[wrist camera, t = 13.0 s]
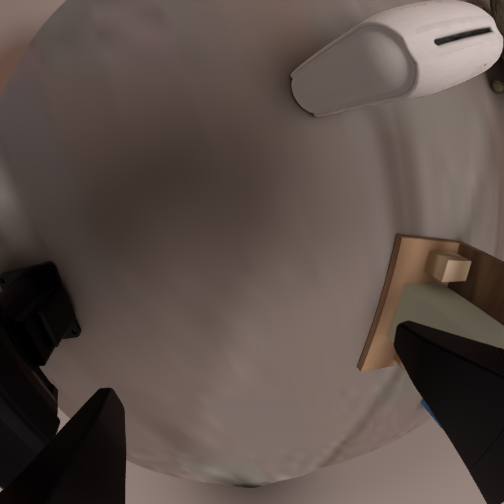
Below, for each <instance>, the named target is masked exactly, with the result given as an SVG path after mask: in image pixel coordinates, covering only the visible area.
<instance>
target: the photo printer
mask: <svg viewBox="0 0 504 504" xmlns="http://www.w3.org/2000/svg"><path fill="white" fill-rule="evenodd" d="M502 49H503V36H502V35H501V34H500V32H499V31H498V29H497V27H496V24H495V21H494V19H493V18H492V17H491V16H490V15H489V14H488V13H487V12H485V11H484V10H482V9H481V8H479V7H477V6H475V5H473V4H470V3H467V2H463V1H457V0H432V1H423V2H417V3H411V4H406V5H402V6H398V7H394V8H391V9H387V10H384V11H382V12H379V13H377V14H375V15H373V16H371V17H369V18H367V19H366V20H364V21H362V22H361V23H359V24H358V25H356V26H354V27H353V28H351V29H350V30H348V31H347V32H345V33H344V34H342V35H341V36H339V37H338V38H337V39H335V40H334V41H332V42H331V43H329V44H328V45H326V46H325V47H324V48H322V49H321V50H319V51H318V52H317V53H315V54H314V55H313V56H311V57H310V58H309V59H307V60H306V61H305V62H304V63H302V64H301V65H300V66H299V67H297V68H296V69H295V70H294V71H293V72H292V73H291V75H290V76H291V77H292V79H293V80H292V82H291V88H292V92H293V95H294V97H295V99H296V101H297V102H298V104H299V105H300V106H301V107H302V108H304V109H305V110H306V111H308V112H310V113H313V114H314V116H315V117H323V116H328V115H332V114H336V113H340V112H344V111H348V110H353V109H357V108H362V107H366V106H371V105H376V104H381V103H387V102H393V101H398V100H405V99H411V98H418V97H423V96H427V95H430V94H433V93H436V92H439V91H442V90H445V89H447V88H450V87H452V86H455V85H457V84H460V83H462V82H464V81H466V80H469V79H471V78H473V77H475V76H477V75H479V74H481V73H483V72H484V71H486V70H487V69H489V68H490V67H492V65H493V64H494V63H495V62H496V61H497V60H498V59H499V57H500V55H501V53H502Z"/></svg>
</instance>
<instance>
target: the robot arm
mask: <svg viewBox="0 0 504 504" xmlns="http://www.w3.org/2000/svg"><path fill="white" fill-rule="evenodd" d="M48 267H50V268H51V271H50V270H49V269H48ZM3 279H4V280H5V281H4V280H3ZM0 285H1V288H2V290H3V291H2V292H1V293H0V487H1V488H2V489H3V490H2V491H1V492H0V504H125V477H126V476H125V475H126V435H125V410H124V407H123V404H122V403H121V401H120V399H119V398H118V396H117V395H116V393H115V391H114V390H113V389H112V388H100V389H98V390H97V391H96V392H95V394H94V395H93V396H92V397H91V398H90V399H89V400H88V401H87V402H86V403H85V404H84V405H83V406H82V407H81V408H80V410H79V411H78V412H77V413H76V414H75V415H74V416H73V417H72V418H71V419H70V420H69V421H68V422H67V423H66V425H65V426H64V427H63V428H62V429H61V430H60V431H59V432H58V433H57V431H58V428H59V425H60V419H59V418H58V417H57V413H58V404H57V401H58V390H57V388H56V387H55V386H54V385H53V384H51V383H50V381H49V380H48V379H47V377H46V376H45V375H44V373H43V372H42V371H41V369H40V368H39V367H40V366H44V365H45V364H46V363H47V361H48V359H49V357H50V355H51V354H52V352H53V350H54V348H55V347H58V345H59V343H60V342H61V340H62V339H66V338H75V337H78V336H79V335H80V333H81V329H80V327H79V325H78V322H77V320H76V318H75V314H74V311H73V309H72V306H71V304H70V302H69V299H68V297H67V294H66V291H65V289H64V288H63V286H62V283H61V281H60V278H59V275H58V272H57V269H56V267H55V265H54V264H53V263H52V262H46V263H42V264H38V265H34V266H30V267H26V268H22V269H18V270H14V271H11V272H7V273H3V274H2V275H0ZM74 330H75V331H76V332H75V331H74ZM394 349H395V351H396V353H397V355H398V357H399V358H400V360H401V362H402V364H403V366H404V368H405V369H406V371H407V373H408V375H409V377H410V379H411V381H412V382H413V384H414V386H415V387H416V389H417V390H418V392H419V393H420V395H421V396H422V398H423V399H424V401H425V402H426V404H427V405H428V407H429V408H430V410H431V411H432V413H433V414H434V416H435V417H436V419H437V420H438V422H439V423H440V425H441V426H442V428H443V430H444V431H445V433H446V434H447V436H448V437H449V439H450V440H451V442H452V444H453V445H454V447H455V449H456V450H457V452H458V453H459V455H460V457H461V459H462V460H463V462H464V463H465V465H466V467H467V469H468V470H469V472H470V474H471V476H472V477H473V479H474V481H475V483H476V484H477V486H478V488H479V490H480V492H481V493H482V495H483V497H484V499H485V501H486V502H487V504H501V503H502V502H504V349H503V348H500V347H498V348H497V347H496V346H492V345H489V344H486V343H482V342H479V341H475V340H472V339H469V338H465V337H462V336H459V335H455V334H452V333H449V332H445V331H442V330H439V329H436V328H432V327H429V326H426V325H423V324H419V323H416V322H413V321H410V320H407V321H404V322H401V323H399V324H398V325H397V327H396V333H395V339H394ZM56 433H57V434H56Z"/></svg>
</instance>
